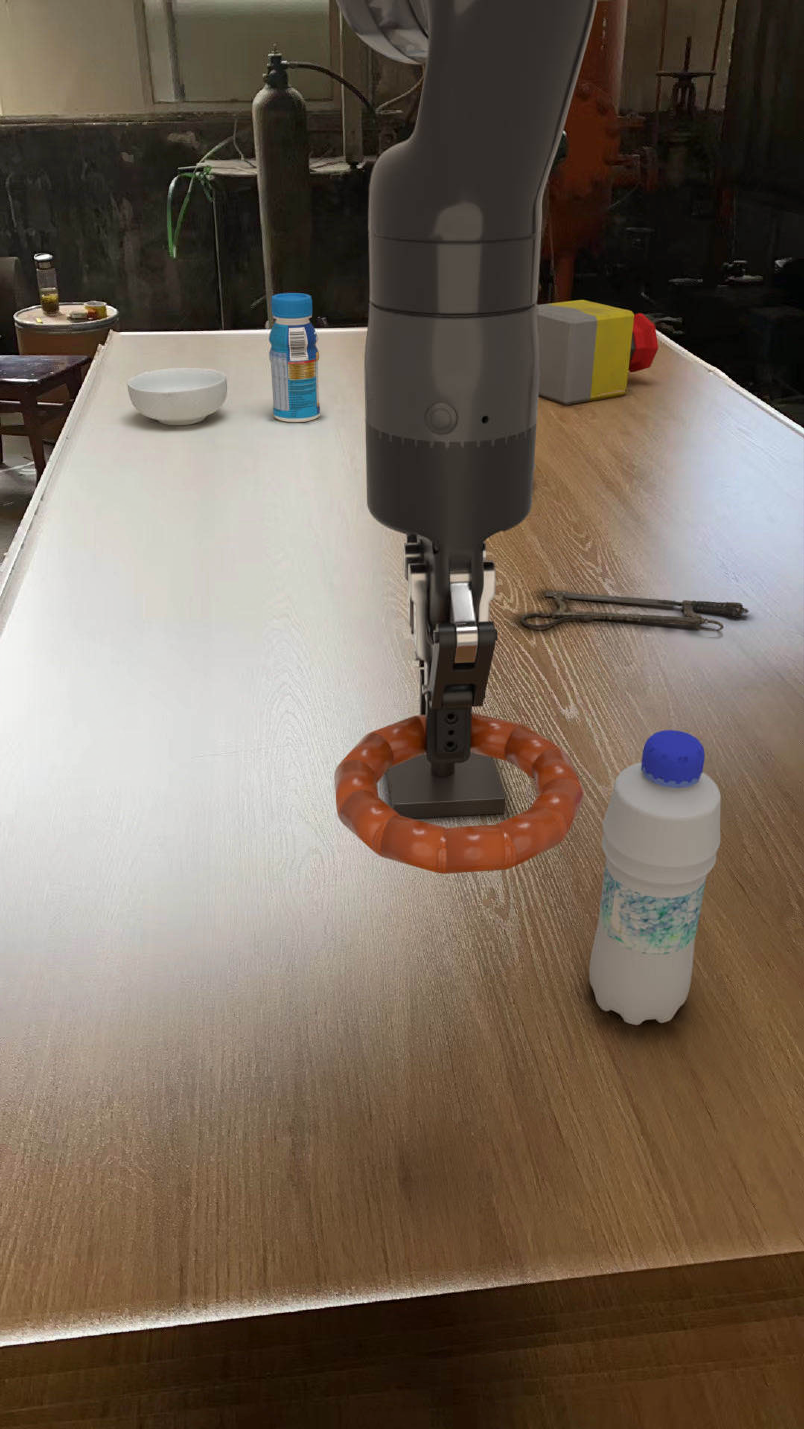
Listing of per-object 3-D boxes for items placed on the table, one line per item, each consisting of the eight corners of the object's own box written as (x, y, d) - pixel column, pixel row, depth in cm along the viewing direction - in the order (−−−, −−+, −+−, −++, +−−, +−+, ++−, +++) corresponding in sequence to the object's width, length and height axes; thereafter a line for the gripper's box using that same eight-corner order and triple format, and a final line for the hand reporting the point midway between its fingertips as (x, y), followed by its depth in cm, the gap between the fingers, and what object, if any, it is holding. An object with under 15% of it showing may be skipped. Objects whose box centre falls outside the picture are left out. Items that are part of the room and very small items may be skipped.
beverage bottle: (263, 420, 188) (256, 298, 178) (286, 408, 195) (281, 290, 185) (307, 425, 185) (302, 302, 175) (329, 413, 192) (325, 293, 182)
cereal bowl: (162, 403, 198) (158, 363, 194) (245, 411, 193) (243, 370, 190) (113, 428, 184) (107, 385, 180) (201, 437, 179) (197, 393, 176)
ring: (549, 733, 58) (552, 700, 57) (605, 872, 48) (610, 836, 47) (331, 745, 57) (329, 712, 56) (342, 890, 47) (340, 853, 46)
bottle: (643, 952, 74) (681, 697, 64) (711, 1017, 69) (764, 751, 59) (562, 986, 71) (589, 724, 61) (626, 1056, 66) (667, 783, 56)
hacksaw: (747, 613, 121) (749, 600, 120) (748, 654, 112) (751, 641, 112) (531, 590, 126) (532, 578, 125) (517, 628, 118) (518, 615, 117)
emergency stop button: (664, 389, 208) (675, 306, 200) (565, 406, 197) (572, 319, 189) (612, 373, 219) (620, 294, 211) (515, 388, 208) (520, 306, 200)
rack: (486, 754, 96) (494, 592, 88) (504, 813, 88) (515, 642, 80) (384, 759, 95) (383, 596, 87) (393, 819, 87) (393, 647, 79)
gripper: (571, 455, 42) (543, 820, 51) (507, 370, 54) (493, 679, 63) (377, 461, 41) (382, 830, 50) (355, 374, 53) (363, 685, 62)
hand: (444, 744), depth 56 cm, fingers closed on ring, 2 cm apart
